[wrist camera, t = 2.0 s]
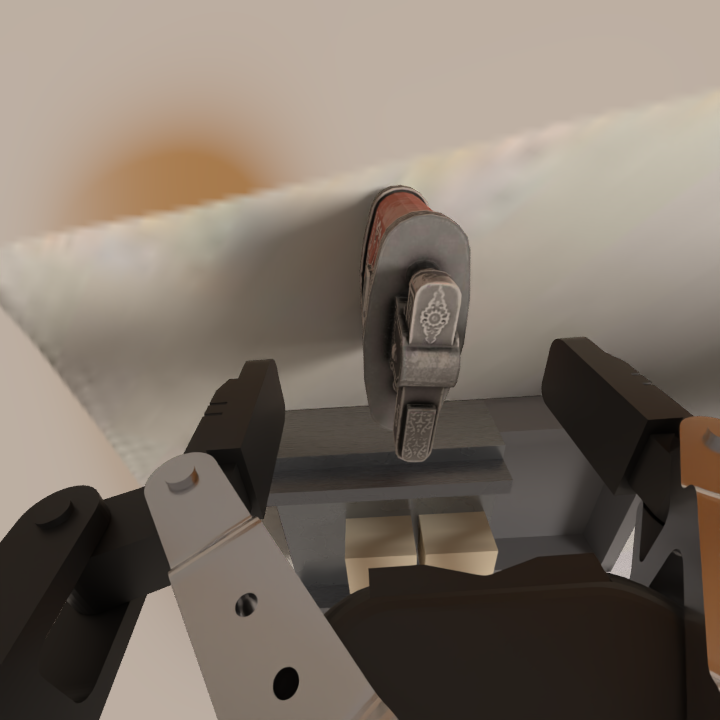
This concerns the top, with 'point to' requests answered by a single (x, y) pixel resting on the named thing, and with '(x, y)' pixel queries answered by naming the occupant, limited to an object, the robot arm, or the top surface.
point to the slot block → (375, 482)
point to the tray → (552, 492)
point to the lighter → (412, 315)
